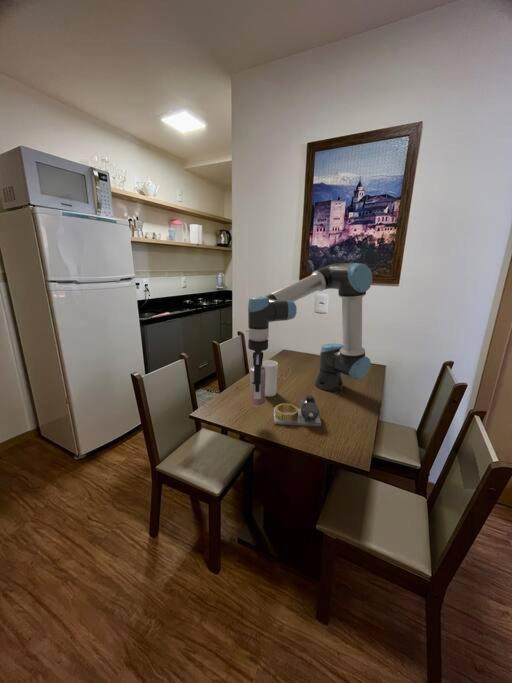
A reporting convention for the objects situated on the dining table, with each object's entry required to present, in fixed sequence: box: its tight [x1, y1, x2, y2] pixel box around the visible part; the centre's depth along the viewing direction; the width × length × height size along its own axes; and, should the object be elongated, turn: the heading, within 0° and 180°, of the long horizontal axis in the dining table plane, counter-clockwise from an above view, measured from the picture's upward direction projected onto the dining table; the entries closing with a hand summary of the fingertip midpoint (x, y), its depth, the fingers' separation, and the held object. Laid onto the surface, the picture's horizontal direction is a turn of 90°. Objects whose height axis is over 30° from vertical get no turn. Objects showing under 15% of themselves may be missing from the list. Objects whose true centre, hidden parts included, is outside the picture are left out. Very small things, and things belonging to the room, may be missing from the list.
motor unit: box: [273, 395, 322, 427], centre depth 115 cm, size 19×12×10 cm, turn 87°
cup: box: [262, 359, 279, 397], centre depth 138 cm, size 8×8×16 cm
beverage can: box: [249, 366, 266, 408], centre depth 109 cm, size 6×6×15 cm
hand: (257, 394), depth 110 cm, fingers closed on beverage can, 6 cm apart
